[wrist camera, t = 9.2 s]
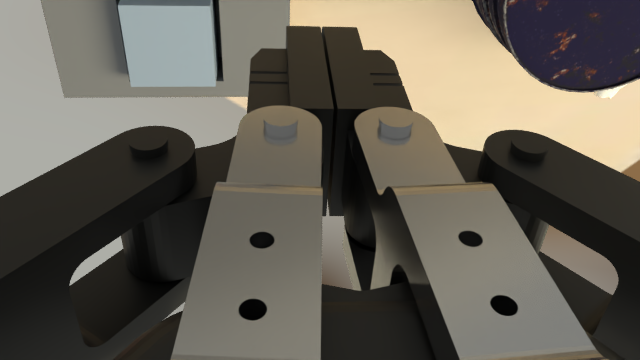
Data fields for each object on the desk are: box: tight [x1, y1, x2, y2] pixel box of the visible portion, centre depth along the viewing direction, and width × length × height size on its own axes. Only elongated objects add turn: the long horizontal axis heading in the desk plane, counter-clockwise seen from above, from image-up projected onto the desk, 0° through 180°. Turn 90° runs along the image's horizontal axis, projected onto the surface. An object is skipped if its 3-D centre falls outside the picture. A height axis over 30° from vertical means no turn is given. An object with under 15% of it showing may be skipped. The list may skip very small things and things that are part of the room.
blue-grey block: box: [118, 0, 218, 87], centre depth 36 cm, size 5×5×4 cm
